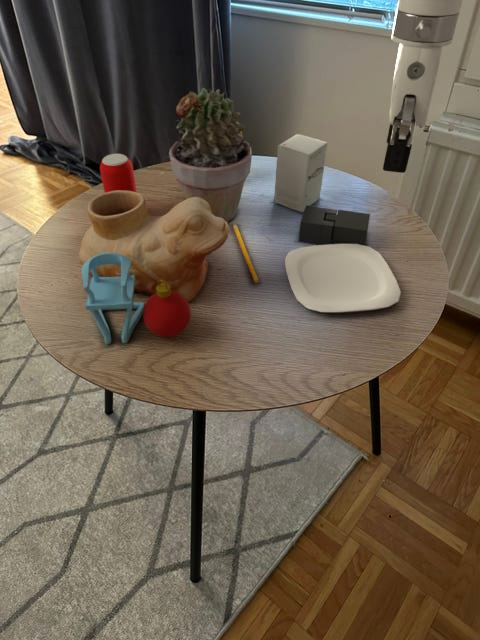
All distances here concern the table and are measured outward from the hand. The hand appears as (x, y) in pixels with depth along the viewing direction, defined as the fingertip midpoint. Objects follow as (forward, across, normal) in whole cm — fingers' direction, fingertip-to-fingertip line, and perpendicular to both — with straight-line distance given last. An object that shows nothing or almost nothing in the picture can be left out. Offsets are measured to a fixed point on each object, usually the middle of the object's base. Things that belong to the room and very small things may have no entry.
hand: (395, 156), depth 73 cm
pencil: (+20, -2, +23) cm, 31 cm away
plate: (+21, -6, +5) cm, 22 cm away
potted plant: (+20, +11, +33) cm, 40 cm away
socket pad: (+20, +7, +11) cm, 24 cm away
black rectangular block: (+20, +7, +5) cm, 22 cm away
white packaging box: (+20, +19, +17) cm, 32 cm away
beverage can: (+20, +4, +50) cm, 54 cm away
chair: (+20, -26, +37) cm, 50 cm away
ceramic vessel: (+20, -13, +36) cm, 43 cm away
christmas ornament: (+20, -25, +29) cm, 43 cm away
